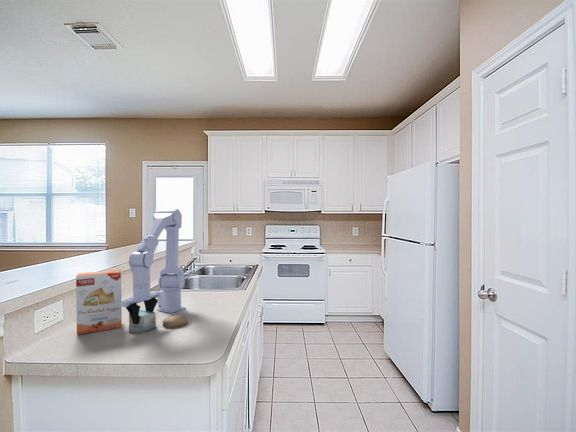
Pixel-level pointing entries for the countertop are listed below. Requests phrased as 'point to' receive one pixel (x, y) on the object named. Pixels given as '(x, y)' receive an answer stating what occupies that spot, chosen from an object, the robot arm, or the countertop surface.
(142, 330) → the grey stand
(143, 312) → the cover plate
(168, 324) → the walnut stand
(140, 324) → the white and teal box
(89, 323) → the cracker box
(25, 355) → the countertop surface
